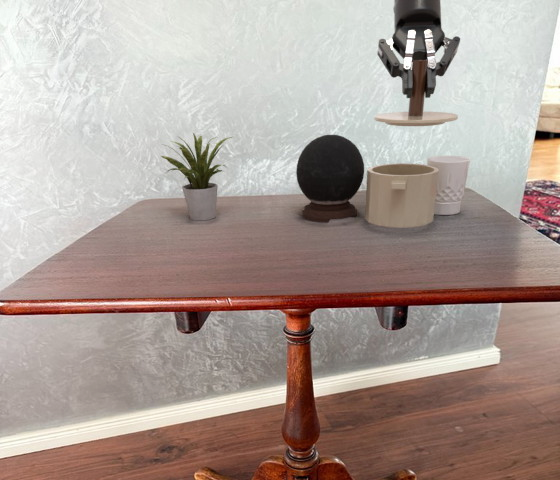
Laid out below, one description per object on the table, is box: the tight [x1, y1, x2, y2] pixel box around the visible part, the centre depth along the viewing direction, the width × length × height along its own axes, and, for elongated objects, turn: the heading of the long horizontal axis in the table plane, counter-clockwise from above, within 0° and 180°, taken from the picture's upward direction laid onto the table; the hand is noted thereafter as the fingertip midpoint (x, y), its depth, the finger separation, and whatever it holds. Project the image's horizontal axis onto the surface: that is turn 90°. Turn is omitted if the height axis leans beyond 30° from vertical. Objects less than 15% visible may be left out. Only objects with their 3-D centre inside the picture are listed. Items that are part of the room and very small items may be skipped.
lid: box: [373, 60, 459, 127], centre depth 88 cm, size 14×14×9 cm
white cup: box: [426, 155, 471, 216], centre depth 107 cm, size 8×8×10 cm
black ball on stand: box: [296, 134, 365, 223], centre depth 106 cm, size 13×13×15 cm
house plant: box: [160, 132, 233, 222], centre depth 108 cm, size 14×14×16 cm
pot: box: [364, 163, 438, 229], centre depth 101 cm, size 13×18×10 cm
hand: (419, 93), depth 87 cm, fingers closed on lid, 2 cm apart
